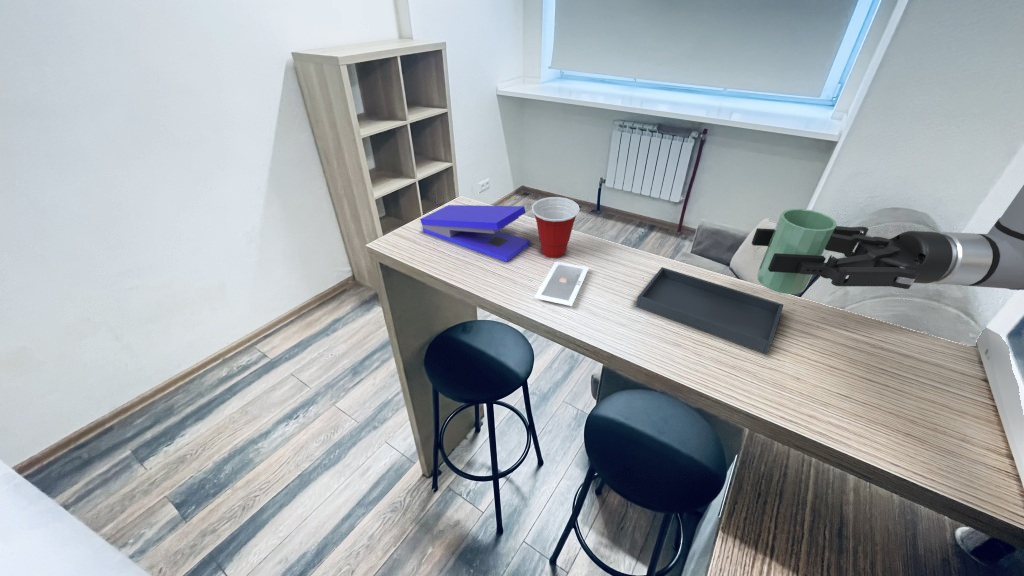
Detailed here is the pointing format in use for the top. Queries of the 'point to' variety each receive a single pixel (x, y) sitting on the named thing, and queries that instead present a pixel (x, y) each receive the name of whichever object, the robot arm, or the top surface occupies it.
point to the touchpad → (562, 283)
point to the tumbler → (795, 247)
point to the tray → (712, 308)
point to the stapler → (478, 228)
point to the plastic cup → (555, 224)
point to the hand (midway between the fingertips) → (763, 249)
